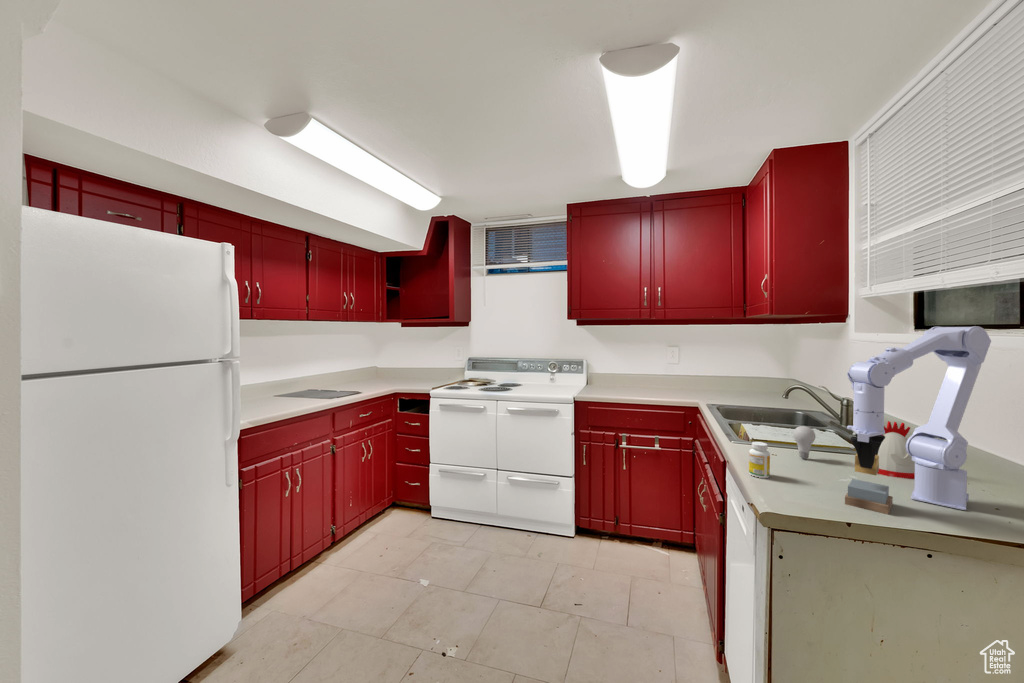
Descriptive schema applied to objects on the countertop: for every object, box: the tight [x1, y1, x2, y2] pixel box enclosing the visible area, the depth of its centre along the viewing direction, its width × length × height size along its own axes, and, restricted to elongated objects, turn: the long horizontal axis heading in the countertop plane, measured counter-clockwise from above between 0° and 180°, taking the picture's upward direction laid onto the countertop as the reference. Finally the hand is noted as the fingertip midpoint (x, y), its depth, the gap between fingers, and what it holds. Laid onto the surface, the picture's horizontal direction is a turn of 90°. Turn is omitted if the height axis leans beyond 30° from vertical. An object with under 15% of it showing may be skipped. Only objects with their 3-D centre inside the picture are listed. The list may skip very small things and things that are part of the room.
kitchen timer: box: [877, 420, 915, 480], centre depth 126 cm, size 14×14×15 cm
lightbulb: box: [792, 425, 816, 460], centre depth 138 cm, size 6×6×11 cm
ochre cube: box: [854, 453, 879, 476], centre depth 103 cm, size 4×4×4 cm
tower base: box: [844, 492, 894, 515], centre depth 103 cm, size 8×8×2 cm
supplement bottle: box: [748, 441, 771, 479], centre depth 124 cm, size 5×5×10 cm
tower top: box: [847, 478, 890, 505], centre depth 103 cm, size 7×7×2 cm
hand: (867, 465), depth 103 cm, fingers closed on ochre cube, 4 cm apart
